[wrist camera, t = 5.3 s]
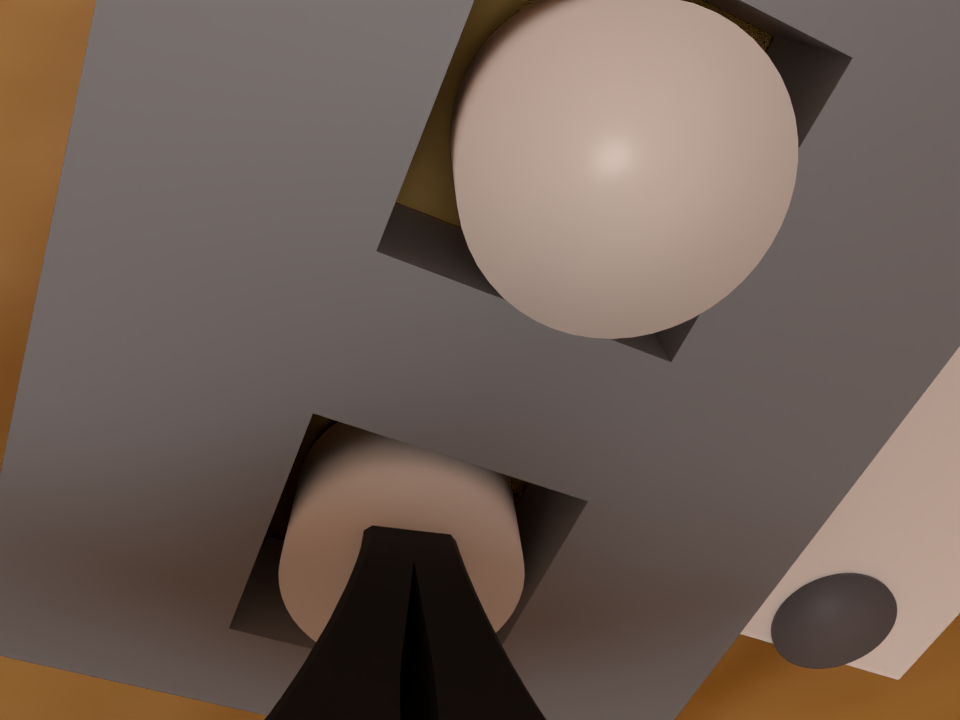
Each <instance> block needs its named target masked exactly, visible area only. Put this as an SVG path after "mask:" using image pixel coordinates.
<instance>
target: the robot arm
mask: <svg viewBox="0 0 960 720" xmlns="http://www.w3.org/2000/svg"><path fill="white" fill-rule="evenodd" d="M265 720H546V718H545V717H544V715H543V714H542V712H541V711H540V709H539V708H538V706H537V705H536V703H535V701H534V700H533V698H532V697H531V695H530V693H529V692H528V690H527V689H526V687H525V685H524V684H523V682H522V680H521V678H520V677H519V675H518V673H517V672H516V670H515V668H514V666H513V665H512V663H511V661H510V659H509V658H508V656H507V654H506V652H505V650H504V648H503V647H502V645H501V643H500V641H499V639H498V637H497V635H496V633H495V631H494V629H493V627H492V625H491V623H490V621H489V619H488V617H487V615H486V613H485V611H484V609H483V607H482V605H481V602H480V600H479V598H478V596H477V593H476V591H475V589H474V587H473V584H472V582H471V580H470V577H469V575H468V572H467V570H466V567H465V565H464V562H463V560H462V557H461V554H460V551H459V548H458V545H457V542H456V540H455V539H454V538H453V537H452V535H451V534H443V533H434V532H425V531H416V530H408V529H399V528H391V527H382V526H374V525H372V526H370V527H369V528H367V529H365V530H364V532H363V538H362V543H361V548H360V551H359V554H358V558H357V560H356V563H355V566H354V568H353V571H352V573H351V576H350V578H349V580H348V583H347V585H346V587H345V589H344V591H343V593H342V595H341V597H340V599H339V601H338V603H337V605H336V607H335V609H334V611H333V613H332V615H331V617H330V619H329V621H328V623H327V625H326V627H325V628H324V630H323V632H322V633H321V635H320V637H319V638H318V640H317V642H316V643H315V645H314V647H313V649H312V650H311V652H310V654H309V655H308V657H307V659H306V660H305V662H304V664H303V665H302V667H301V668H300V670H299V671H298V673H297V674H296V676H295V677H294V679H293V680H292V682H291V683H290V685H289V686H288V688H287V689H286V691H285V692H284V694H283V695H282V696H281V698H280V699H279V701H278V702H277V703H276V705H275V706H274V708H273V709H272V710H271V712H270V713H269V714H268V716H267V717H266V719H265Z"/></svg>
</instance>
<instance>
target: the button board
mask: <svg viewBox="0 0 960 720" xmlns="http://www.w3.org/2000/svg"><path fill="white" fill-rule="evenodd" d="M704 1H706V2H708V3H710V4H711V5H713V6H715V7H717V8H719V9H721V10H723V11H725V12H727V13H729V14H731V15H733V16H735V17H737V18H739V19H741V20H743V21H745V22H747V23H749V24H751V25H753V26H755V27H757V28H759V29H761V30H763V31H765V32H767V33H769V34H771V35H773V36H775V37H774V38H773V40H772V42H771V44H770V46H769V48H768V49H767V51H766V54H767V55H768V56H769V58H770V59H771V61H772V63H773V64H774V66H775V67H776V69H777V71H778V72H779V74H780V75H781V78H782V80H783V82H784V85H785V87H786V89H787V91H788V94H789V96H790V100H791V103H792V107H793V111H794V114H795V119H796V126H797V134H798V166H797V174H796V181H795V186H794V190H793V194H792V198H791V201H790V205H789V208H788V210H787V213H786V215H785V218H784V220H783V223H782V226H781V228H780V229H779V231H778V233H777V235H776V237H775V239H774V241H773V242H772V244H771V246H770V248H769V249H768V250H767V252H766V253H765V255H764V256H763V258H762V259H761V261H760V262H759V263H758V265H757V266H756V267H755V268H754V269H753V270H752V272H751V273H750V274H749V275H748V276H747V277H746V278H745V280H744V281H743V282H742V283H740V284H739V285H738V286H737V287H736V288H735V289H734V290H733V291H732V292H731V293H730V294H728V295H727V296H726V297H725V298H723V299H722V300H721V301H719V302H718V303H716V304H715V305H714V306H712V307H711V308H709V309H708V310H706V311H704V312H703V313H701V314H699V315H697V316H696V317H694V318H692V319H690V320H688V321H686V322H683V323H681V324H679V325H676V326H674V327H672V328H668V329H665V330H662V331H659V332H656V333H652V334H647V335H642V336H637V337H631V338H617V339H604V338H589V337H583V336H577V335H572V334H569V333H565V332H562V331H559V330H555V329H552V328H550V327H548V326H546V325H544V324H541V323H539V322H537V321H535V320H533V319H532V318H530V317H528V316H527V315H525V314H524V313H522V312H520V311H519V310H517V309H516V308H515V307H514V306H513V305H511V304H510V303H509V302H508V301H506V300H505V299H504V298H503V297H502V296H501V295H500V294H499V293H498V292H497V291H496V290H495V288H494V287H493V286H492V285H491V284H490V283H489V282H488V280H487V279H486V277H485V276H484V274H483V273H482V272H481V270H480V269H479V267H478V266H477V264H476V262H475V260H474V258H473V256H472V254H471V252H470V250H469V248H468V245H467V242H466V239H465V236H464V234H463V231H462V229H461V228H459V227H456V226H453V225H451V224H448V223H446V222H443V221H441V220H438V219H436V218H433V217H431V216H428V215H426V214H423V213H420V212H418V211H415V210H413V209H410V208H408V207H405V206H403V205H400V204H398V203H395V202H396V199H397V197H398V194H399V192H400V189H401V187H402V184H403V182H404V179H405V176H406V174H407V171H408V169H409V166H410V164H411V161H412V158H413V156H414V153H415V151H416V148H417V146H418V143H419V141H420V138H421V135H422V133H423V130H424V128H425V125H426V123H427V120H428V118H429V115H430V112H431V110H432V107H433V105H434V102H435V100H436V97H437V95H438V92H439V89H440V87H441V84H442V82H443V79H444V77H445V74H446V72H447V69H448V66H449V64H450V61H451V59H452V56H453V54H454V51H455V48H456V46H457V43H458V41H459V38H460V36H461V33H462V31H463V28H464V25H465V23H466V20H467V18H468V15H469V13H470V10H471V8H472V5H473V2H474V0H96V4H95V9H94V14H93V19H92V24H91V29H90V34H89V39H88V44H87V49H86V54H85V59H84V64H83V69H82V73H81V78H80V83H79V88H78V93H77V98H76V103H75V108H74V113H73V118H72V123H71V128H70V133H69V138H68V143H67V148H66V152H65V157H64V162H63V167H62V172H61V177H60V182H59V187H58V192H57V197H56V202H55V207H54V212H53V217H52V222H51V226H50V231H49V236H48V241H47V246H46V251H45V256H44V261H43V266H42V271H41V276H40V281H39V286H38V291H37V296H36V300H35V305H34V310H33V315H32V320H31V325H30V330H29V335H28V340H27V345H26V350H25V355H24V360H23V365H22V370H21V374H20V379H19V384H18V389H17V394H16V399H15V404H14V409H13V414H12V419H11V424H10V429H9V434H8V439H7V444H6V448H5V453H4V458H3V463H2V468H1V473H0V656H3V657H8V658H12V659H17V660H21V661H26V662H30V663H35V664H39V665H44V666H48V667H53V668H57V669H61V670H66V671H70V672H75V673H79V674H84V675H88V676H93V677H97V678H102V679H106V680H110V681H115V682H119V683H124V684H128V685H133V686H137V687H142V688H146V689H151V690H155V691H159V692H164V693H168V694H173V695H177V696H182V697H186V698H191V699H195V700H200V701H204V702H208V703H213V704H217V705H222V706H226V707H231V708H235V709H240V710H244V711H249V712H253V713H257V714H262V715H266V716H268V714H269V713H270V712H271V710H272V709H273V708H274V706H275V705H276V703H277V702H278V701H279V699H280V698H281V696H282V695H283V694H284V692H285V691H286V689H287V688H288V686H289V685H290V683H291V682H292V680H293V679H294V677H295V676H296V674H297V673H298V671H299V670H300V668H301V667H302V665H303V664H304V662H305V660H306V659H307V657H308V655H309V654H310V652H311V650H312V649H313V647H314V645H315V643H316V642H315V641H314V640H313V639H311V638H310V637H309V636H308V635H307V634H306V633H305V632H304V631H302V630H301V629H300V627H299V626H298V625H297V624H296V622H295V621H294V620H293V619H292V617H291V615H290V614H289V612H288V610H287V609H286V606H285V604H284V601H283V599H282V596H281V592H280V587H279V574H278V572H279V564H280V558H281V553H282V549H283V545H284V540H280V539H277V538H273V537H269V536H266V532H267V529H268V527H269V524H270V522H271V519H272V517H273V514H274V511H275V509H276V506H277V504H278V501H279V499H280V496H281V494H282V491H283V488H284V486H285V483H286V481H287V478H288V476H289V473H290V471H291V468H292V465H293V463H294V460H295V458H296V455H297V453H298V450H299V448H300V445H301V442H302V440H303V437H304V435H305V432H306V430H307V427H308V425H309V422H310V419H311V417H312V414H313V413H314V414H317V415H320V416H323V417H326V418H329V419H332V420H335V421H339V422H342V423H345V424H348V425H351V426H354V427H357V428H360V429H364V430H367V431H370V432H373V433H376V434H379V435H382V436H386V437H389V438H392V439H395V440H398V441H401V442H404V443H407V444H411V445H414V446H417V447H420V448H423V449H426V450H429V451H432V452H436V453H439V454H442V455H445V456H448V457H451V458H454V459H457V460H461V461H464V462H467V463H470V464H473V465H476V466H479V467H482V468H486V469H489V470H492V471H495V472H498V473H501V474H504V475H508V476H511V477H514V478H517V479H520V480H523V481H526V482H529V484H528V485H527V487H526V489H525V491H524V493H523V495H522V496H521V498H520V500H519V502H518V504H517V505H516V507H515V511H516V517H517V523H518V529H519V535H520V541H521V548H522V554H523V560H524V572H525V577H524V585H523V590H522V593H521V596H520V600H519V602H518V604H517V606H516V608H515V610H514V612H513V613H512V615H511V616H510V617H509V619H508V620H507V622H506V623H505V624H504V625H503V626H502V627H501V628H500V629H499V630H498V631H497V632H496V635H497V637H498V639H499V641H500V643H501V645H502V647H503V648H504V650H505V652H506V654H507V656H508V658H509V659H510V661H511V663H512V665H513V666H514V668H515V670H516V672H517V673H518V675H519V677H520V678H521V680H522V682H523V684H524V685H525V687H526V689H527V690H528V692H529V693H530V695H531V697H532V698H533V700H534V701H535V703H536V705H537V706H538V708H539V709H540V711H541V712H542V714H543V715H544V717H545V718H546V720H674V719H675V718H676V717H677V716H678V714H679V713H680V712H681V710H682V709H683V708H684V706H685V705H686V704H687V702H688V701H689V700H690V699H691V697H692V696H693V695H694V693H695V692H696V691H697V689H698V688H699V687H700V685H701V684H702V683H703V682H704V680H705V679H706V678H707V676H708V675H709V674H710V672H711V671H712V670H713V668H714V667H715V666H716V665H717V663H718V662H719V661H720V659H721V658H722V657H723V655H724V654H725V653H726V651H727V650H728V649H729V648H730V646H731V645H732V644H733V642H734V641H735V640H736V638H737V637H738V636H739V634H740V633H741V632H742V631H743V629H744V628H745V627H746V625H747V624H748V623H749V621H750V620H751V619H752V617H753V616H754V615H755V614H756V612H757V611H758V610H759V608H760V607H761V606H762V604H763V603H764V602H765V600H766V599H767V598H768V596H769V595H770V594H771V593H772V591H773V590H774V589H775V587H776V586H777V585H778V583H779V582H780V581H781V579H782V578H783V577H784V576H785V574H786V573H787V572H788V570H789V569H790V568H791V566H792V565H793V564H794V562H795V561H796V560H797V559H798V557H799V556H800V555H801V553H802V552H803V551H804V549H805V548H806V547H807V545H808V544H809V543H810V542H811V540H812V539H813V538H814V536H815V535H816V534H817V532H818V531H819V530H820V528H821V527H822V526H823V525H824V523H825V522H826V521H827V519H828V518H829V517H830V515H831V514H832V513H833V511H834V510H835V509H836V508H837V506H838V505H839V504H840V502H841V501H842V500H843V498H844V497H845V496H846V494H847V493H848V492H849V491H850V489H851V488H852V487H853V485H854V484H855V483H856V481H857V480H858V479H859V477H860V476H861V475H862V474H863V472H864V471H865V470H866V468H867V467H868V466H869V464H870V463H871V462H872V460H873V459H874V458H875V457H876V455H877V454H878V453H879V451H880V450H881V449H882V447H883V446H884V445H885V443H886V442H887V441H888V440H889V438H890V437H891V436H892V434H893V433H894V432H895V430H896V429H897V428H898V426H899V425H900V424H901V423H902V421H903V420H904V419H905V417H906V416H907V415H908V413H909V412H910V411H911V409H912V408H913V407H914V406H915V404H916V403H917V402H918V400H919V399H920V398H921V396H922V395H923V394H924V392H925V391H926V390H927V388H928V387H929V386H930V385H931V383H932V382H933V381H934V379H935V378H936V377H937V375H938V374H939V373H940V371H941V370H942V369H943V368H944V366H945V365H946V364H947V362H948V361H949V360H950V358H951V357H952V356H953V354H954V353H955V352H956V351H957V349H958V348H959V347H960V0H704Z"/></svg>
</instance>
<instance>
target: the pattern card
mask: <svg viewBox="0 0 960 720" xmlns="http://www.w3.org/2000/svg"><path fill="white" fill-rule="evenodd" d="M959 613H960V347H959V348H958V349H957V351H956V352H955V353H954V354H953V356H952V357H951V358H950V360H949V361H948V362H947V364H946V365H945V366H944V368H943V369H942V370H941V371H940V373H939V374H938V375H937V377H936V378H935V379H934V381H933V382H932V383H931V385H930V386H929V387H928V388H927V390H926V391H925V392H924V394H923V395H922V396H921V398H920V399H919V400H918V402H917V403H916V404H915V406H914V407H913V408H912V409H911V411H910V412H909V413H908V415H907V416H906V417H905V419H904V420H903V421H902V423H901V424H900V425H899V426H898V428H897V429H896V430H895V432H894V433H893V434H892V436H891V437H890V438H889V440H888V441H887V442H886V443H885V445H884V446H883V447H882V449H881V450H880V451H879V453H878V454H877V455H876V457H875V458H874V459H873V460H872V462H871V463H870V464H869V466H868V467H867V468H866V470H865V471H864V472H863V474H862V475H861V476H860V477H859V479H858V480H857V481H856V483H855V484H854V485H853V487H852V488H851V489H850V491H849V492H848V493H847V494H846V496H845V497H844V498H843V500H842V501H841V502H840V504H839V505H838V506H837V508H836V509H835V510H834V511H833V513H832V514H831V515H830V517H829V518H828V519H827V521H826V522H825V523H824V525H823V526H822V527H821V528H820V530H819V531H818V532H817V534H816V535H815V536H814V538H813V539H812V540H811V542H810V543H809V544H808V545H807V547H806V548H805V549H804V551H803V552H802V553H801V555H800V556H799V557H798V559H797V560H796V561H795V562H794V564H793V565H792V566H791V568H790V569H789V570H788V572H787V573H786V574H785V576H784V577H783V578H782V579H781V581H780V582H779V583H778V585H777V586H776V587H775V589H774V590H773V591H772V593H771V594H770V595H769V596H768V598H767V599H766V600H765V602H764V603H763V604H762V606H761V607H760V608H759V610H758V611H757V612H756V614H755V615H754V616H753V617H752V619H751V620H750V621H749V623H748V624H747V625H746V627H745V628H744V629H743V631H742V632H741V633H740V634H742V635H745V636H749V637H752V638H756V639H759V640H762V641H766V642H769V643H773V644H774V645H775V647H776V649H777V651H778V652H779V654H780V655H781V656H782V657H783V658H785V659H786V660H787V661H789V662H791V663H793V664H795V665H798V666H801V667H806V668H814V669H823V668H832V667H837V666H841V665H849V666H852V667H856V668H859V669H862V670H866V671H869V672H873V673H876V674H880V675H883V676H887V677H890V678H893V679H897V680H899V679H900V678H901V677H902V676H903V675H904V674H905V673H906V671H907V670H908V669H909V668H910V667H911V666H912V665H913V664H914V663H915V662H916V660H917V659H918V658H919V657H920V656H921V655H922V654H923V653H924V652H925V651H926V649H927V648H928V647H929V646H930V645H931V644H932V643H933V642H934V641H935V640H936V638H937V637H938V636H939V635H940V634H941V633H942V632H943V631H944V630H945V629H946V627H947V626H948V625H949V624H950V623H951V622H952V621H953V620H954V619H955V618H956V617H957V615H958V614H959Z"/></svg>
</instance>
